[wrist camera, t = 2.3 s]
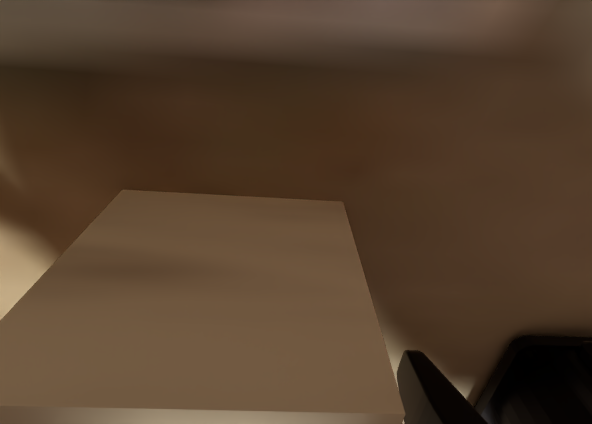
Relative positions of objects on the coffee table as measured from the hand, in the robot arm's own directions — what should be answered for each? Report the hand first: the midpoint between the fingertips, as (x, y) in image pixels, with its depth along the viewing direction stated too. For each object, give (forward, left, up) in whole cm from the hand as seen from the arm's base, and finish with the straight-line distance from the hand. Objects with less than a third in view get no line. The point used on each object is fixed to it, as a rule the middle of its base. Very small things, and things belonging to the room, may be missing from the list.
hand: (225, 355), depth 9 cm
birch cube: (0, 0, -3) cm, 3 cm away
